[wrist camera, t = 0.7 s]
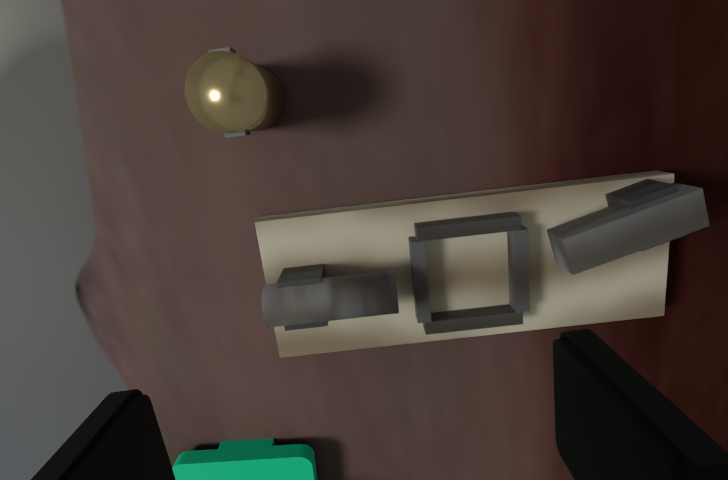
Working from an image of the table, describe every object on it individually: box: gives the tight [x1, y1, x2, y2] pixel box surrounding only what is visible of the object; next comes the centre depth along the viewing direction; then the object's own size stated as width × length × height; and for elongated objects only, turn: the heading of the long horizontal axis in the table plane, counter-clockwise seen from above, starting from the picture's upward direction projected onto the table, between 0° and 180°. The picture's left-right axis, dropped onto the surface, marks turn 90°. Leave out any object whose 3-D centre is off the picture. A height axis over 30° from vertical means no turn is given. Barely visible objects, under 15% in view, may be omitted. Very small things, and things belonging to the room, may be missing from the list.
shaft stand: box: [255, 171, 710, 358], centre depth 32 cm, size 11×30×6 cm, turn 96°
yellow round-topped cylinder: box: [185, 47, 284, 138], centre depth 28 cm, size 5×4×7 cm
